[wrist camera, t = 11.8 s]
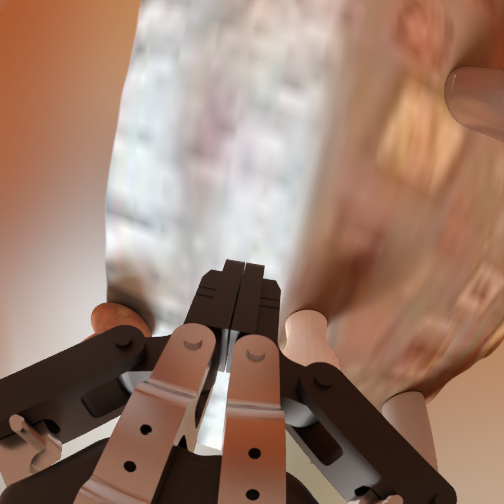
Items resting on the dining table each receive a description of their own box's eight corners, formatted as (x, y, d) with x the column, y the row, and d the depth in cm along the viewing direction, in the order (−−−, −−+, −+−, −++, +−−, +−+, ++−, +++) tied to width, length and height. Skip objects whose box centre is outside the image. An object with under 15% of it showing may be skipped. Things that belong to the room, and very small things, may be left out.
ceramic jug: (103, 279, 53) (67, 330, 41) (165, 315, 56) (139, 372, 44) (94, 325, 63) (67, 369, 51) (145, 355, 65) (123, 402, 53)
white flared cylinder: (335, 300, 49) (344, 372, 36) (334, 340, 54) (339, 407, 42) (274, 305, 51) (267, 376, 38) (280, 344, 56) (275, 410, 44)
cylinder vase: (394, 390, 63) (407, 476, 42) (431, 389, 63) (448, 468, 42) (374, 412, 70) (381, 489, 49) (409, 410, 69) (420, 482, 48)
